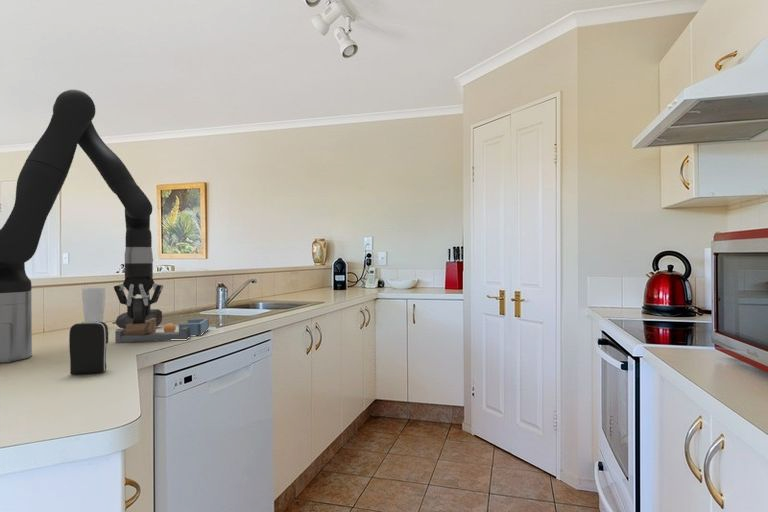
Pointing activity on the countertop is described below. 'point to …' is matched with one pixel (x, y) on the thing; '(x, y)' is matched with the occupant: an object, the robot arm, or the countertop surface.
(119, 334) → the rail
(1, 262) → the robot arm
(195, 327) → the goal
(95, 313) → the drinking glass
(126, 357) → the countertop surface
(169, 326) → the ball
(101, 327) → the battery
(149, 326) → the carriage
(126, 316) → the perforated stone tool
